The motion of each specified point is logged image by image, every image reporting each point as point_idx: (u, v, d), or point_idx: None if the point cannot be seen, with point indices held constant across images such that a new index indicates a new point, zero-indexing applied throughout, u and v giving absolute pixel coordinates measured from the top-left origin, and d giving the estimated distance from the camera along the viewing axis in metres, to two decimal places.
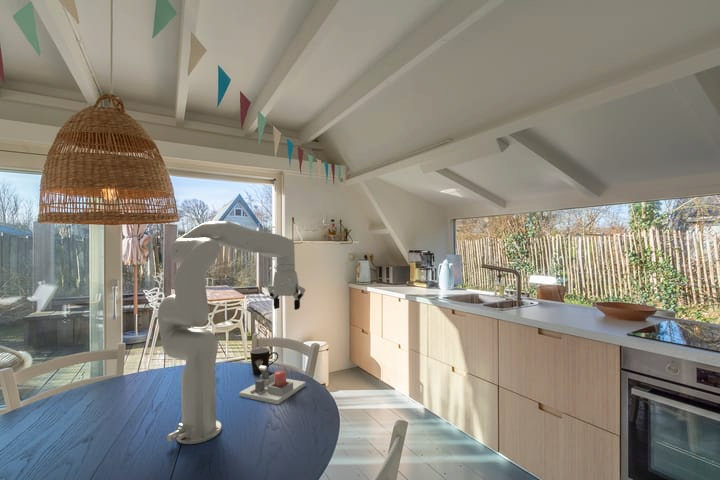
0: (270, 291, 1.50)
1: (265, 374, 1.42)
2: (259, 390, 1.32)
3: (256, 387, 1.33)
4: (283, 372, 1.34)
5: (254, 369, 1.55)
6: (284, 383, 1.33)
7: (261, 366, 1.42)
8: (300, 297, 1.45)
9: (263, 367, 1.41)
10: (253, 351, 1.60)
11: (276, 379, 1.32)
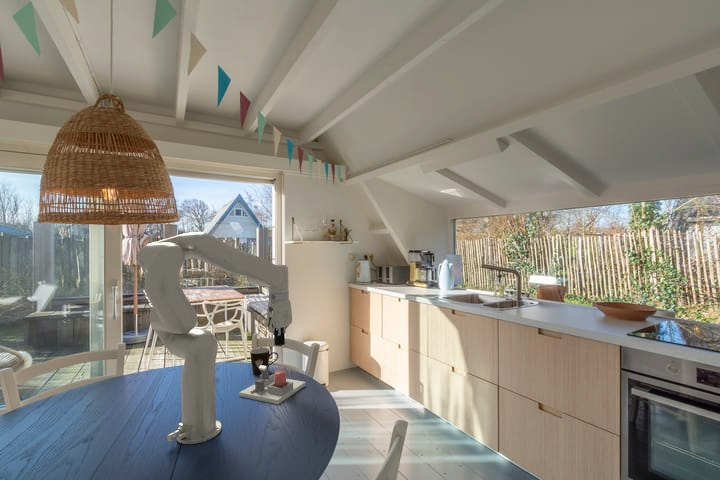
0: (273, 330, 1.30)
1: (265, 374, 1.42)
2: (259, 390, 1.32)
3: (256, 387, 1.33)
4: (283, 372, 1.34)
5: (254, 369, 1.55)
6: (284, 383, 1.33)
7: (261, 366, 1.42)
8: None
9: (263, 367, 1.41)
10: (253, 351, 1.60)
11: (276, 379, 1.32)
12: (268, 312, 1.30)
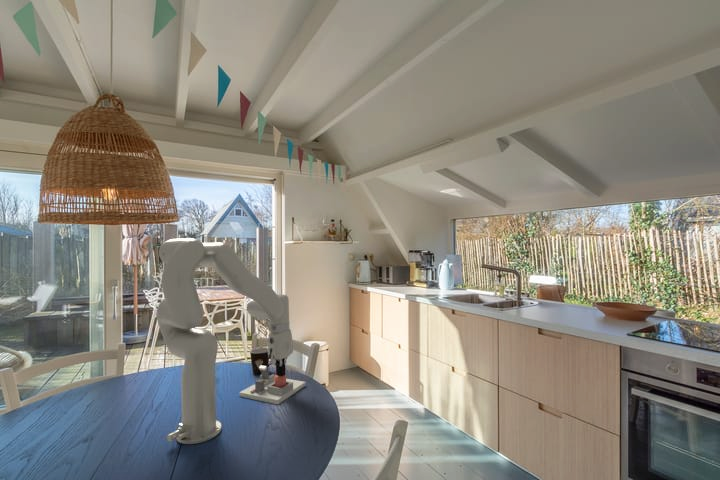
0: (275, 361, 1.30)
1: (265, 374, 1.42)
2: (259, 390, 1.32)
3: (256, 387, 1.33)
4: None
5: (254, 369, 1.55)
6: None
7: (261, 366, 1.42)
8: None
9: (263, 367, 1.41)
10: (253, 351, 1.60)
11: (276, 382, 1.32)
12: (269, 343, 1.30)
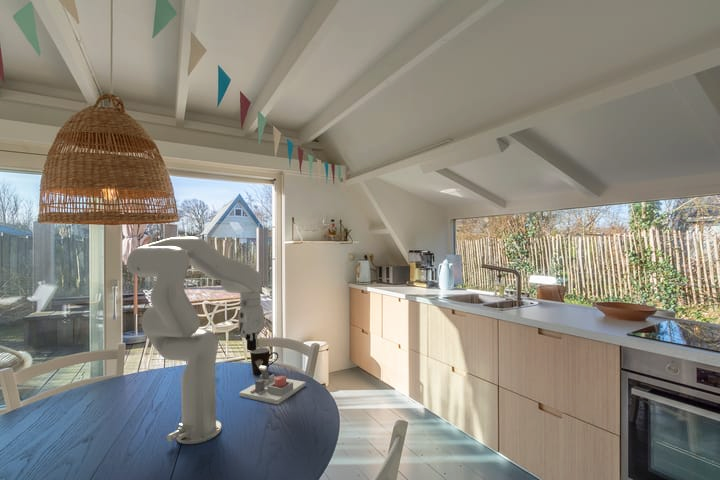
0: (245, 335, 1.33)
1: (265, 374, 1.42)
2: (259, 390, 1.32)
3: (256, 387, 1.33)
4: (283, 377, 1.34)
5: (254, 369, 1.55)
6: None
7: (261, 366, 1.42)
8: (256, 335, 1.38)
9: (263, 367, 1.41)
10: (253, 351, 1.60)
11: (276, 385, 1.32)
12: (239, 318, 1.32)
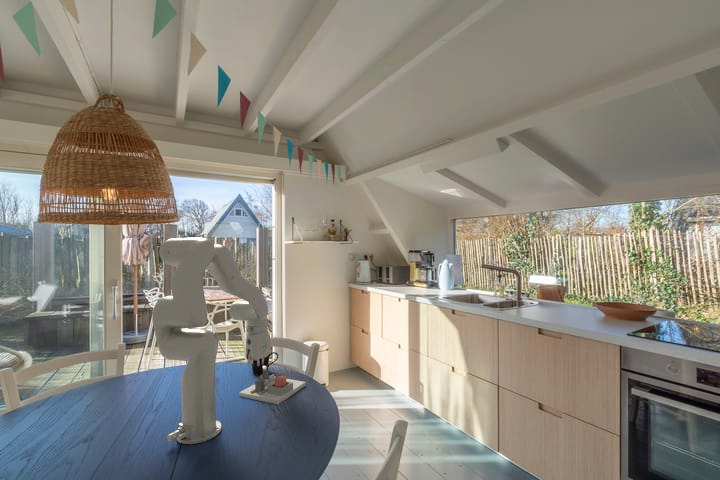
0: (252, 361, 1.36)
1: (265, 374, 1.42)
2: (259, 390, 1.32)
3: (256, 387, 1.33)
4: (283, 377, 1.34)
5: None
6: None
7: None
8: None
9: (263, 367, 1.41)
10: None
11: (276, 385, 1.32)
12: (247, 344, 1.36)
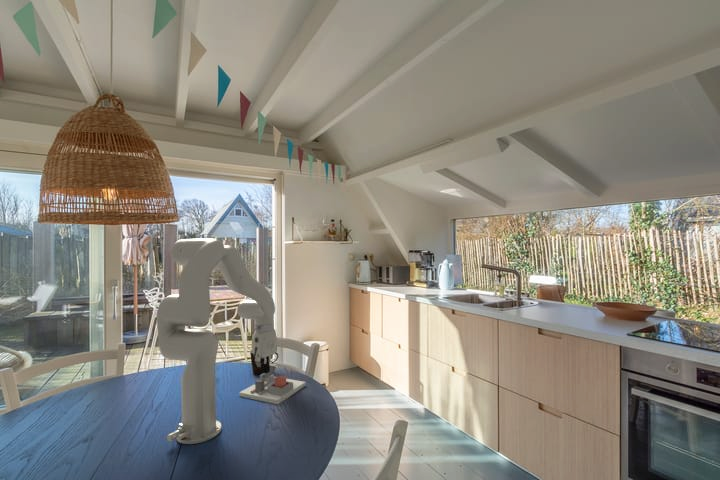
0: (259, 359, 1.40)
1: (270, 371, 1.45)
2: (259, 390, 1.32)
3: (256, 387, 1.33)
4: (283, 377, 1.34)
5: (254, 369, 1.55)
6: None
7: None
8: None
9: None
10: None
11: (276, 385, 1.32)
12: (254, 342, 1.39)
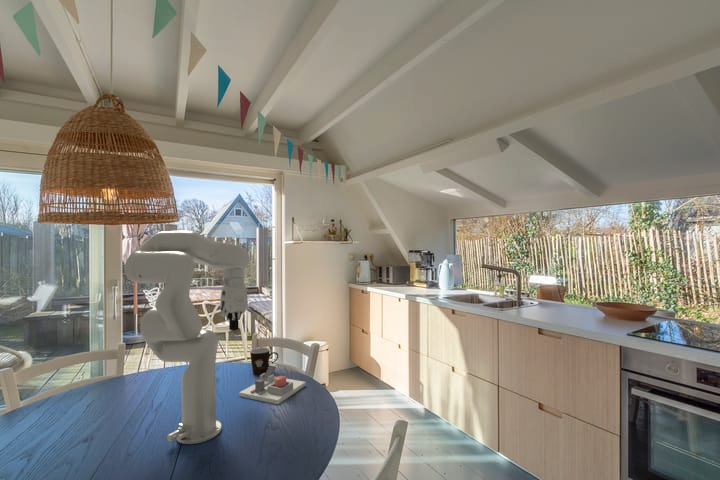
0: (227, 314, 1.31)
1: (270, 371, 1.45)
2: (259, 390, 1.32)
3: (256, 387, 1.33)
4: (283, 377, 1.34)
5: (254, 369, 1.55)
6: None
7: None
8: (239, 315, 1.37)
9: None
10: (253, 351, 1.60)
11: (276, 385, 1.32)
12: (221, 296, 1.32)
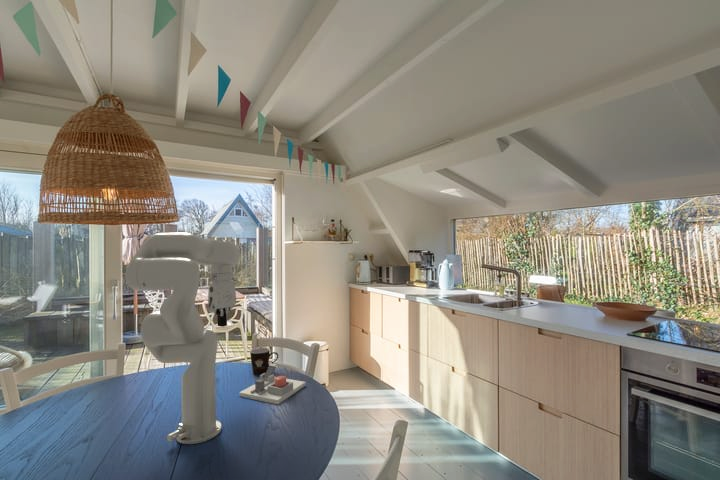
0: (215, 310, 1.29)
1: (270, 371, 1.45)
2: (259, 390, 1.32)
3: (256, 387, 1.33)
4: (283, 377, 1.34)
5: (254, 369, 1.55)
6: None
7: None
8: (227, 311, 1.35)
9: None
10: (253, 351, 1.60)
11: (276, 385, 1.32)
12: (209, 292, 1.29)
